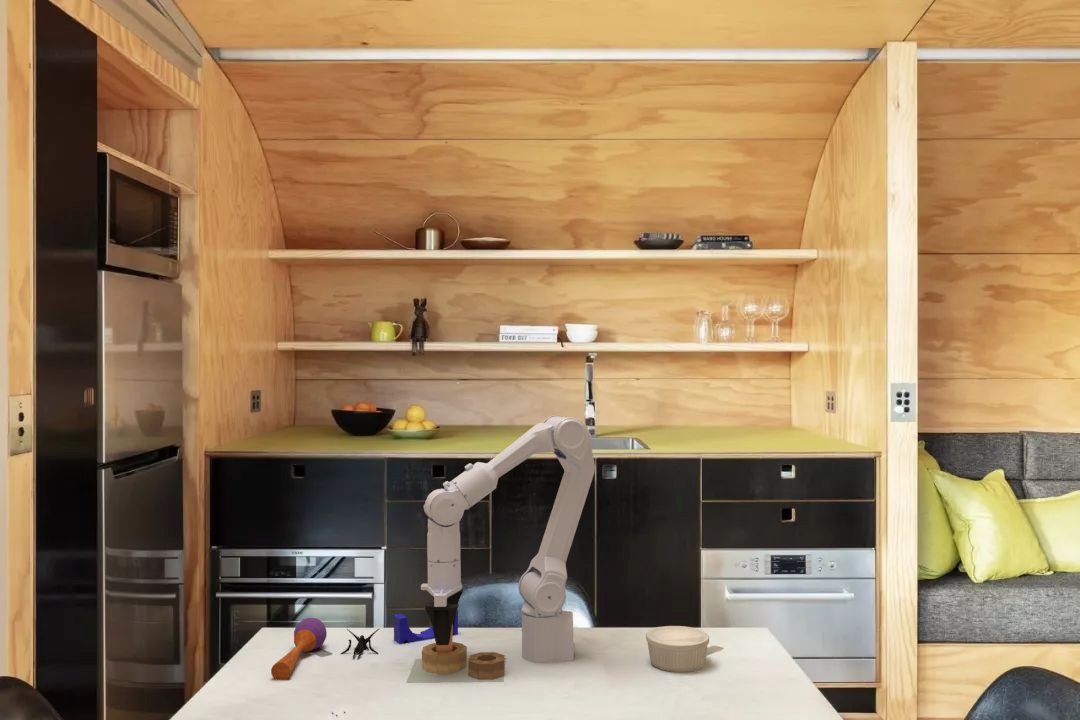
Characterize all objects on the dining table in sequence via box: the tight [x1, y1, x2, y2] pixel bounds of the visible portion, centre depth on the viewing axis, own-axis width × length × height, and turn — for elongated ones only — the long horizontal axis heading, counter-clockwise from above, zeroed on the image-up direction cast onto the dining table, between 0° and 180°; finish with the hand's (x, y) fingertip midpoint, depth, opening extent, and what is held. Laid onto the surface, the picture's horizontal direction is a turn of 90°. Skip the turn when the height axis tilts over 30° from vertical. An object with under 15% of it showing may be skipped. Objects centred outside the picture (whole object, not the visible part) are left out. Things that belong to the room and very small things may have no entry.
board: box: [406, 657, 506, 684], centre depth 150 cm, size 16×12×1 cm
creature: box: [340, 628, 380, 661], centre depth 159 cm, size 8×5×8 cm
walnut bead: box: [468, 651, 506, 680], centre depth 148 cm, size 6×6×3 cm
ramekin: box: [645, 625, 710, 673], centre depth 156 cm, size 11×11×5 cm
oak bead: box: [421, 641, 468, 674], centre depth 152 cm, size 8×8×3 cm
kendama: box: [270, 617, 327, 681], centre depth 159 cm, size 6×6×20 cm
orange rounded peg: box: [436, 624, 454, 653], centre depth 152 cm, size 3×3×7 cm
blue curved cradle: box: [393, 609, 459, 645], centre depth 170 cm, size 12×4×6 cm, turn 120°
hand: (444, 637), depth 152 cm, fingers open, 7 cm apart
